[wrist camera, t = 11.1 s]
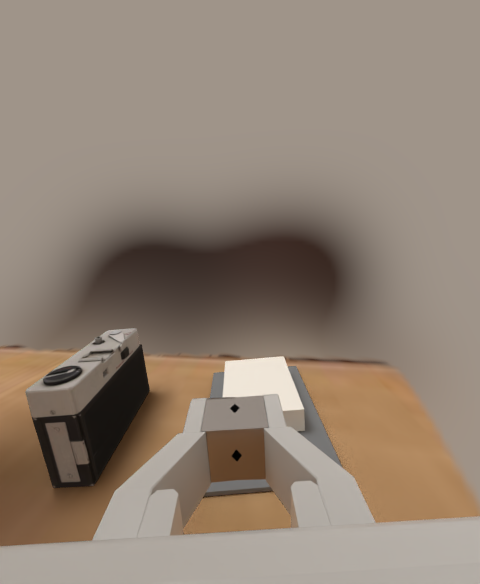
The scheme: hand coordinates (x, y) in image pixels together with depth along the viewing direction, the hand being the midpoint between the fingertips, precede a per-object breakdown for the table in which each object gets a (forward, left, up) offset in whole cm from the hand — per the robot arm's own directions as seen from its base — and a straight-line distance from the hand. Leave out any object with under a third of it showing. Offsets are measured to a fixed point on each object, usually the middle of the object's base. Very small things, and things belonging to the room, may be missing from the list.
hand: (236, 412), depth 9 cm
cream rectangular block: (+2, +14, -12) cm, 18 cm away
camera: (-17, +17, -14) cm, 28 cm away
